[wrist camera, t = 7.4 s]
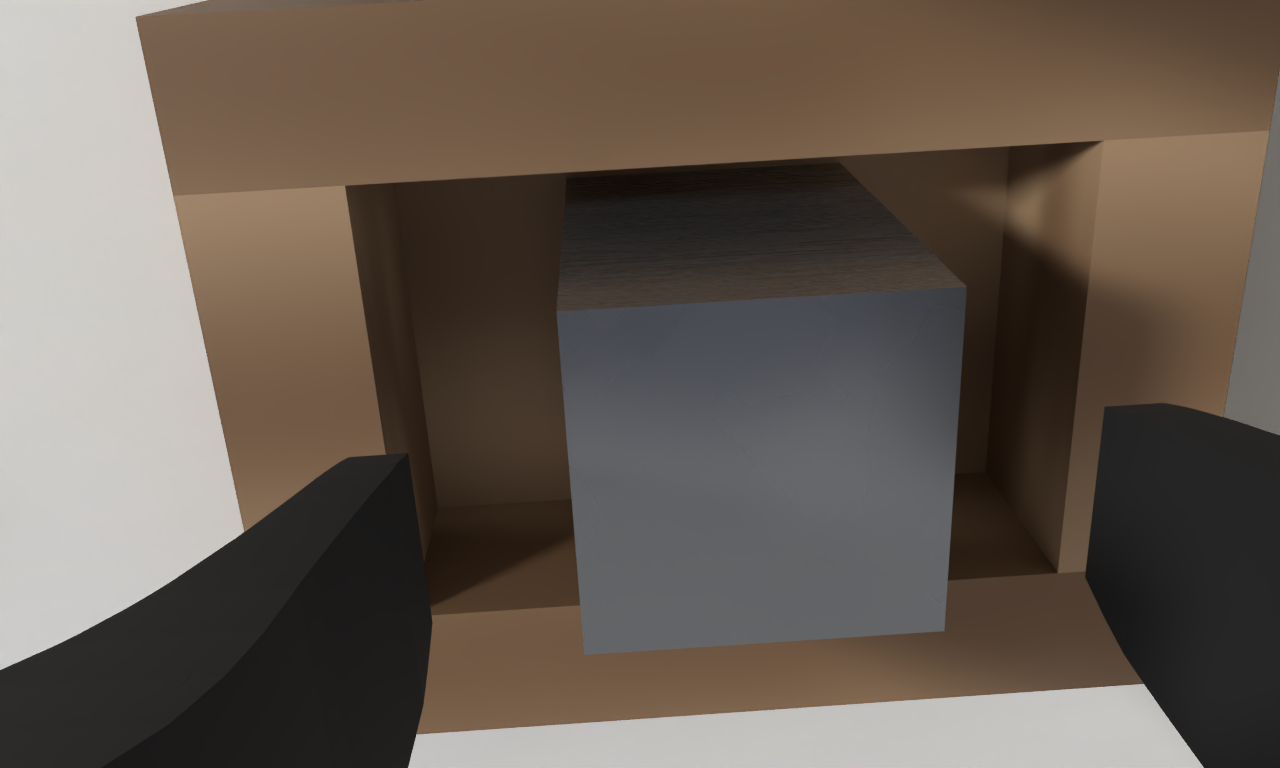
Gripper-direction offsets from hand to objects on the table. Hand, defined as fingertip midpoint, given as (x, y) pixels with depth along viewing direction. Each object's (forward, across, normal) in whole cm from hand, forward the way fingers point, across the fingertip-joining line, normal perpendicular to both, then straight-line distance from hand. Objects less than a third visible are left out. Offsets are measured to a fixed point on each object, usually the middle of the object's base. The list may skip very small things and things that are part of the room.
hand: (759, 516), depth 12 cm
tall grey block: (+6, 0, 0) cm, 6 cm away
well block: (+7, 0, 0) cm, 7 cm away
